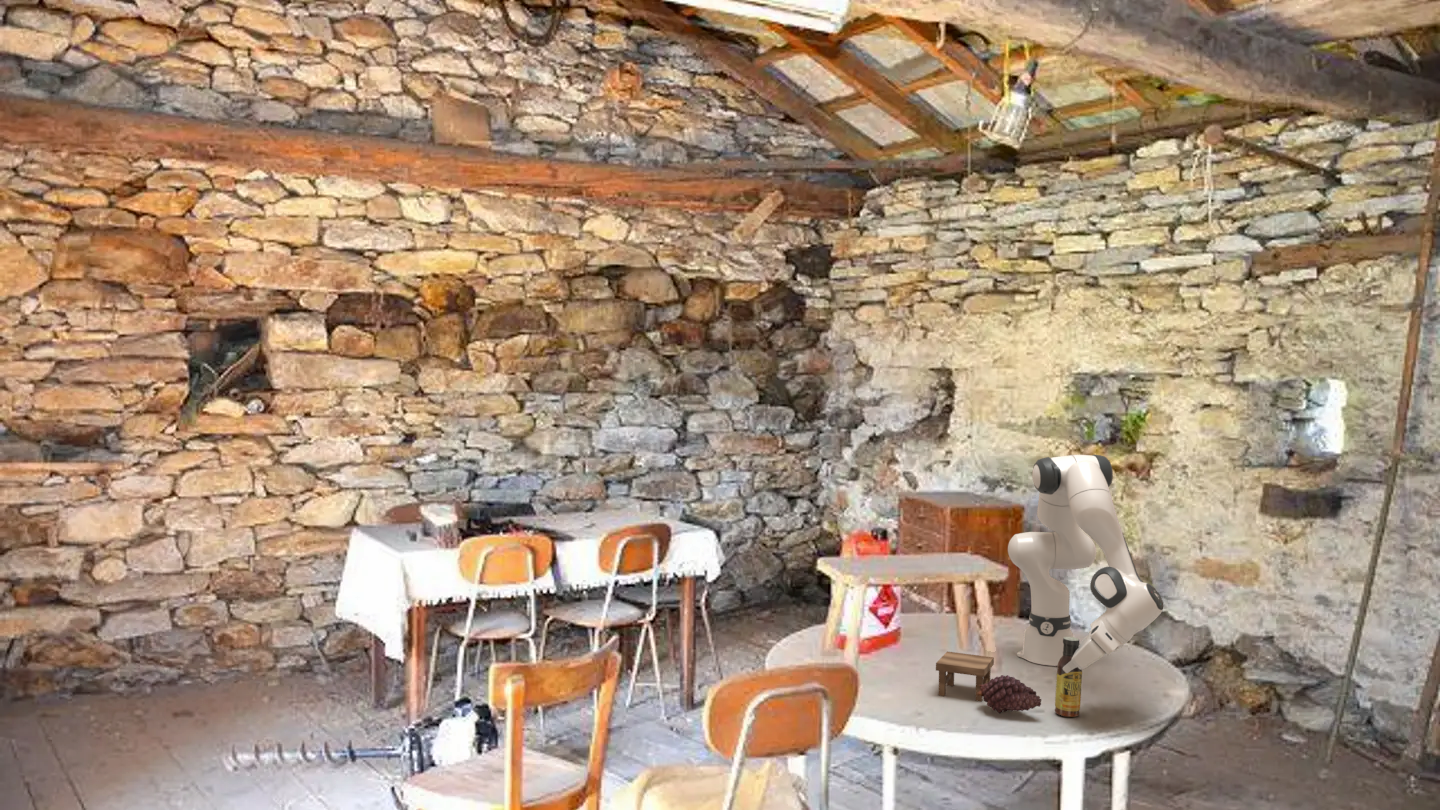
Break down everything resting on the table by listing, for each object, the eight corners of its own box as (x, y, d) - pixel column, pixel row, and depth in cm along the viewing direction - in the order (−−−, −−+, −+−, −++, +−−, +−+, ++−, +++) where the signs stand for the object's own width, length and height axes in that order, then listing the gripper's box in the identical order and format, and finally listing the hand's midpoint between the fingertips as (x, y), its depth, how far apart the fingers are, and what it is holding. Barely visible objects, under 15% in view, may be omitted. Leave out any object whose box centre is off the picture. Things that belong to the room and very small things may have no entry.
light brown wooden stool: (946, 682, 310) (947, 651, 309) (993, 689, 304) (993, 657, 304) (935, 695, 298) (935, 663, 298) (983, 702, 293) (984, 669, 292)
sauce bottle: (1063, 719, 280) (1065, 642, 279) (1049, 711, 286) (1051, 636, 285) (1085, 717, 282) (1088, 640, 281) (1071, 709, 288) (1073, 634, 287)
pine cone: (1047, 717, 282) (1048, 678, 281) (1030, 726, 274) (1031, 687, 274) (984, 701, 293) (985, 665, 293) (966, 710, 286) (967, 672, 285)
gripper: (1102, 615, 289) (1063, 647, 294) (1094, 633, 271) (1052, 667, 275) (1120, 634, 288) (1080, 666, 292) (1112, 653, 269) (1070, 687, 274)
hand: (1066, 666), depth 284 cm, fingers closed on sauce bottle, 6 cm apart
